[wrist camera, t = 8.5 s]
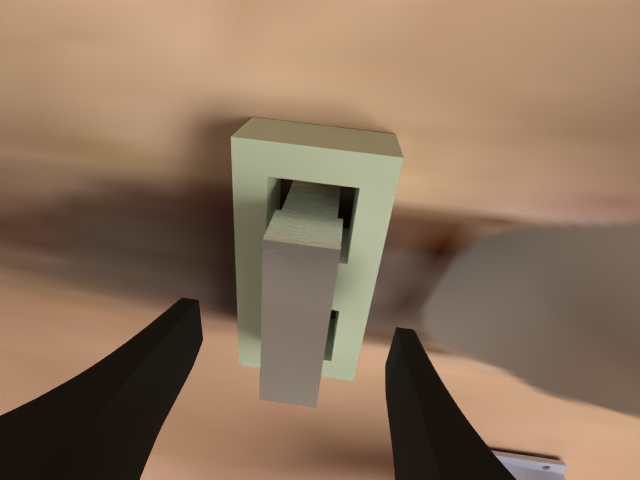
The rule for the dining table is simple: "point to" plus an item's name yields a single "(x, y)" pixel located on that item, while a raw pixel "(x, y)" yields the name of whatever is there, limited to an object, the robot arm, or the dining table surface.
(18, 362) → the dining table surface
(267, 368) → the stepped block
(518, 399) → the dining table surface
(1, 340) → the dining table surface
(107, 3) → the dining table surface
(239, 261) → the slotted block
